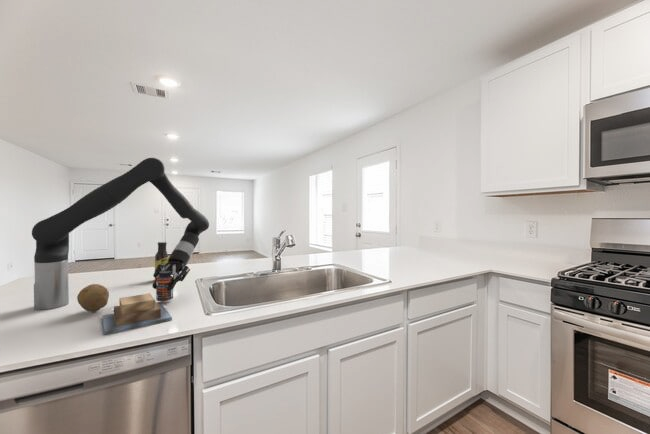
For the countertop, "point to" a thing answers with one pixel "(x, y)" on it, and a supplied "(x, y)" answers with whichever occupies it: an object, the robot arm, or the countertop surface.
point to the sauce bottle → (161, 255)
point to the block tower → (135, 314)
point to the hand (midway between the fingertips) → (161, 288)
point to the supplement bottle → (164, 286)
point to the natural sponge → (93, 297)
